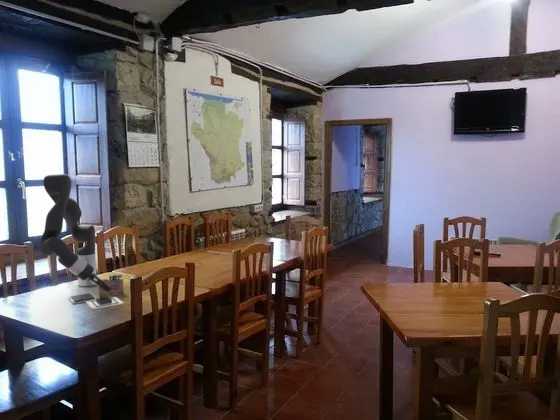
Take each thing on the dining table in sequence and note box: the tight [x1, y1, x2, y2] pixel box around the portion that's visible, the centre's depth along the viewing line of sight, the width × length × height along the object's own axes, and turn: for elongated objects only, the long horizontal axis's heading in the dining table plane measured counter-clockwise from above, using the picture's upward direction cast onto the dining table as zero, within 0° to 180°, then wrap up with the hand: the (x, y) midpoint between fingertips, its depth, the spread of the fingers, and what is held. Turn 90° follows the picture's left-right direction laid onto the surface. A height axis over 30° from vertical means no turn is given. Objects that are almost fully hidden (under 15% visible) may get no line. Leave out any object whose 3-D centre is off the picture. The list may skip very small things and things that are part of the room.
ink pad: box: [67, 293, 97, 305], centre depth 224 cm, size 11×11×1 cm
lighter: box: [108, 274, 125, 296], centre depth 233 cm, size 8×3×10 cm, turn 105°
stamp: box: [96, 278, 112, 305], centre depth 217 cm, size 6×6×11 cm
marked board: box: [85, 296, 124, 310], centre depth 218 cm, size 12×14×1 cm
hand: (107, 288), depth 218 cm, fingers open, 8 cm apart
